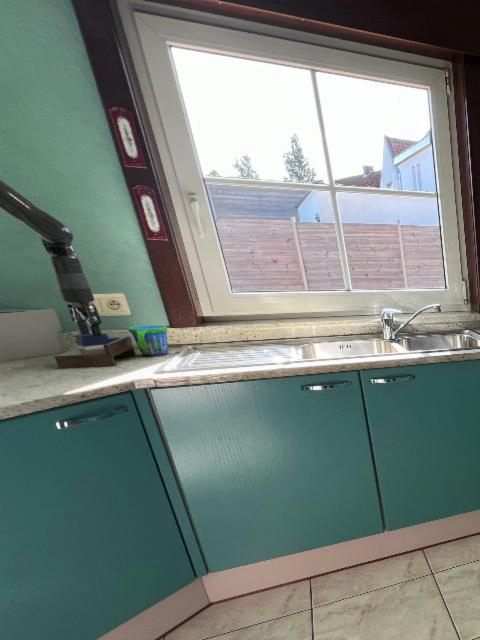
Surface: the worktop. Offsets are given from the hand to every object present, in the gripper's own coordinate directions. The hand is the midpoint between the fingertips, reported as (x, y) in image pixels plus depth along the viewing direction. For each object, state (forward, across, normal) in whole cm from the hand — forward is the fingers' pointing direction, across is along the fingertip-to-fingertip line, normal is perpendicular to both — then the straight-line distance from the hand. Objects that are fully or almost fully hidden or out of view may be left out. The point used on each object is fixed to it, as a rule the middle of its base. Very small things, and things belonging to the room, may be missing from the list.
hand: (91, 335), depth 171 cm
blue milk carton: (+4, 0, +2) cm, 5 cm away
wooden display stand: (+8, +4, -1) cm, 9 cm away
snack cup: (+9, +4, +15) cm, 18 cm away
